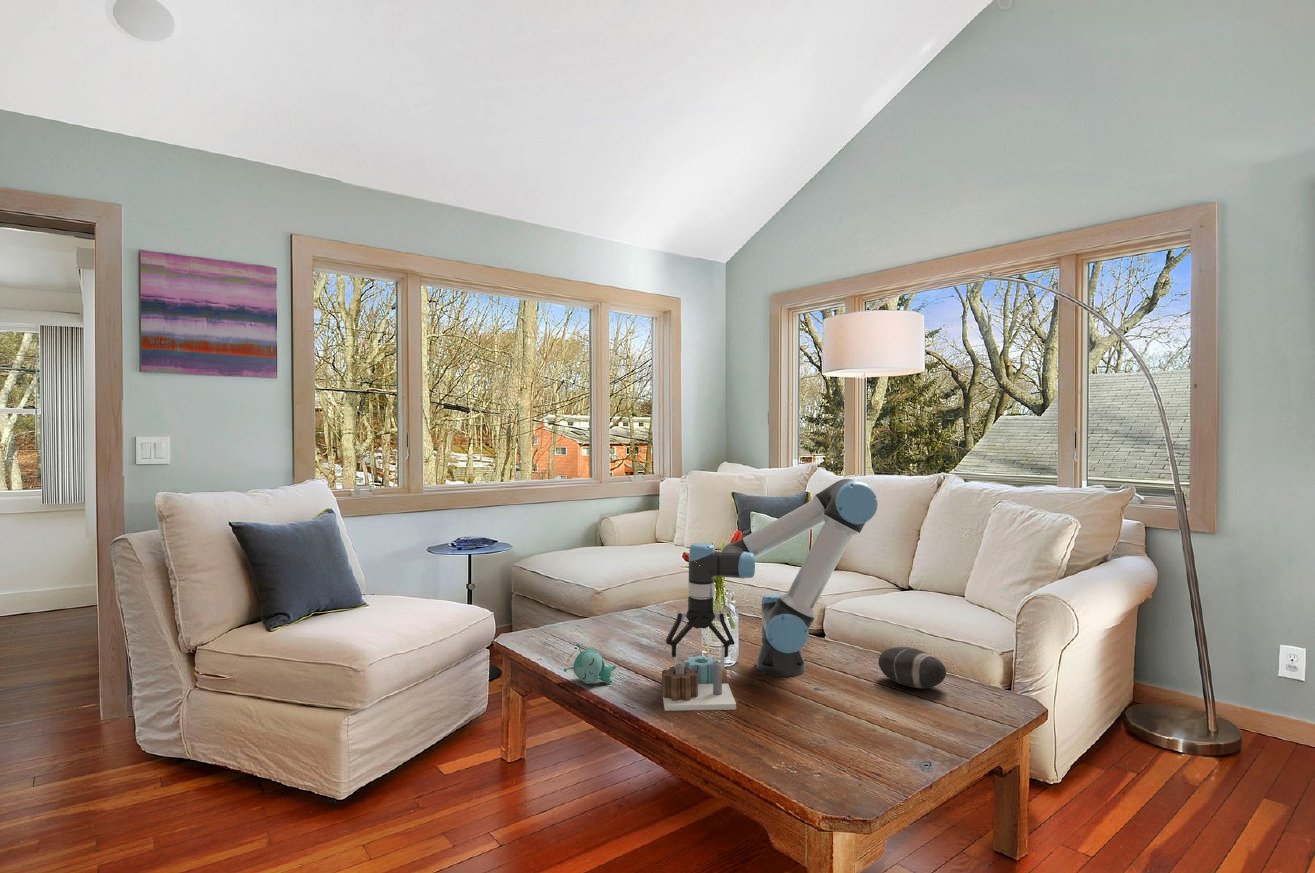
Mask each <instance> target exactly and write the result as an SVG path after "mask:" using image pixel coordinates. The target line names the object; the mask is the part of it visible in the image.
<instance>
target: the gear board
mask: <svg viewBox="0 0 1315 873" xmlns="http://www.w3.org/2000/svg"><path fill="white" fill-rule="evenodd" d="M674 667H675V668H676V675H684V663H678V664H676V665H675V664H674ZM722 670H723V669H722V664H721V663H719V662H718V663H715V664H713V684H698V696H697V697H693V698H691V700H688V701H685V700H682V699H680V700H677V701H672V699H671V698H664V697H663V696H662V699H663V700H662V701H663V709H664V711H667V712H668V711H670V712H671V711H672V712H673V711H720V710H721V711H722V710H723V711H724V710H725V711H727V710H728V711H729V710H730V711H731V710H737V703H736V700H735V697H734V695H733V693H732V690H731V688H730V686H729V683H723V678H722V677H723V671H722Z"/></svg>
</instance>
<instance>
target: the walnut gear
mask: <svg viewBox="0 0 1315 873" xmlns="http://www.w3.org/2000/svg"><path fill="white" fill-rule="evenodd" d="M661 694H662V695H661V696H662V698H663V697H664V698H671V699H672V701H677V700H680V699H682V700H685V701H688V700H691V698H693V697H697V696H698V674H697V670H695V669H692V670H691V669H689V668H688V667H684V675H676V668H675V666H670V667H669V668H668V669H662V671H661Z"/></svg>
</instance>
